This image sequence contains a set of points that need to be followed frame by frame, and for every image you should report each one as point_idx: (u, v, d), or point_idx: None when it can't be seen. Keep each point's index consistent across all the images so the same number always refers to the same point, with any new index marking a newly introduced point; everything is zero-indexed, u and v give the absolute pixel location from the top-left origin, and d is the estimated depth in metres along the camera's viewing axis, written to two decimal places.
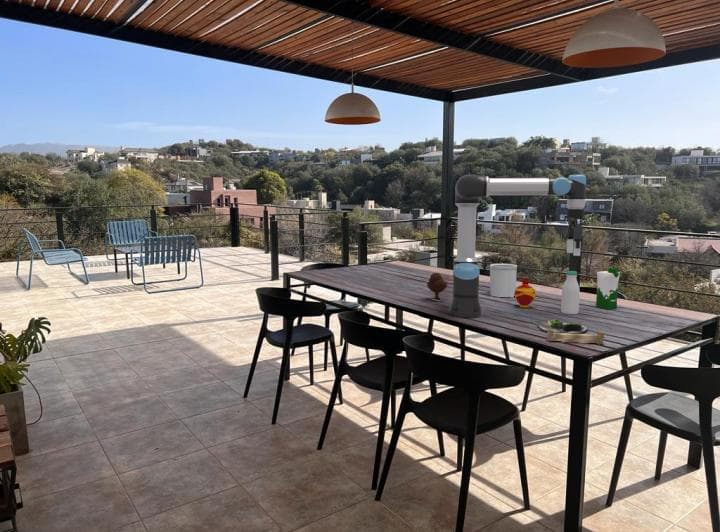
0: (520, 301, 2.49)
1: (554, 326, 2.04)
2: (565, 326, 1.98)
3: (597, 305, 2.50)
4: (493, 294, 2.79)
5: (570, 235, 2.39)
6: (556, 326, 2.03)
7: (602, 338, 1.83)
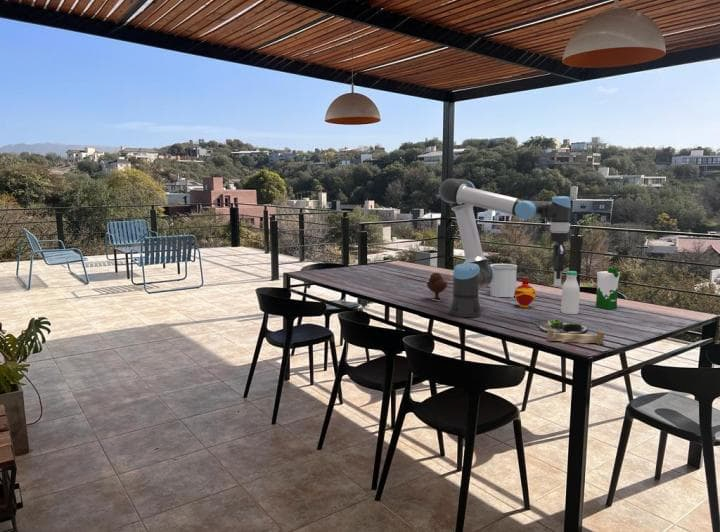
0: (520, 301, 2.49)
1: (554, 326, 2.04)
2: (565, 326, 1.98)
3: (597, 305, 2.50)
4: (493, 294, 2.79)
5: None
6: (556, 326, 2.03)
7: (602, 338, 1.83)
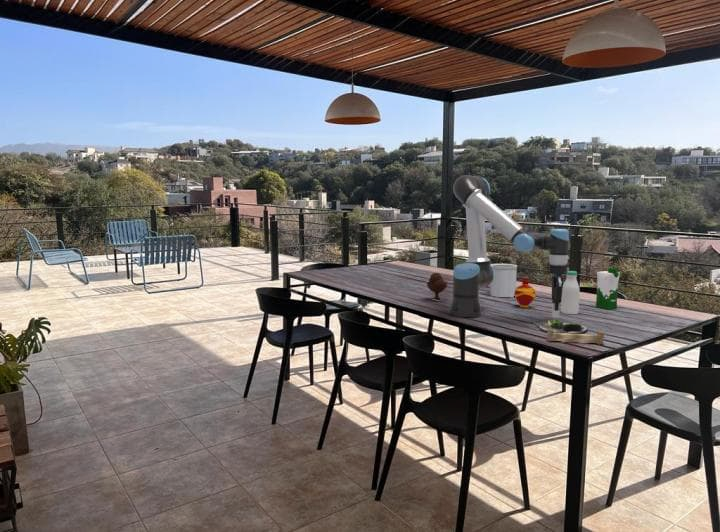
0: (520, 301, 2.49)
1: (554, 326, 2.04)
2: (565, 326, 1.98)
3: (597, 305, 2.50)
4: (493, 294, 2.79)
5: None
6: (556, 326, 2.03)
7: (602, 338, 1.83)
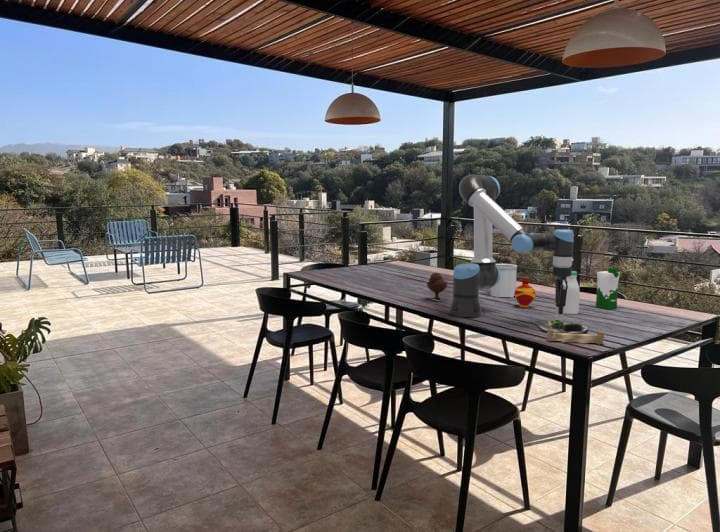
0: (520, 301, 2.49)
1: (555, 326, 2.03)
2: (566, 326, 1.97)
3: (597, 305, 2.50)
4: (493, 294, 2.79)
5: None
6: (557, 326, 2.03)
7: (602, 338, 1.83)
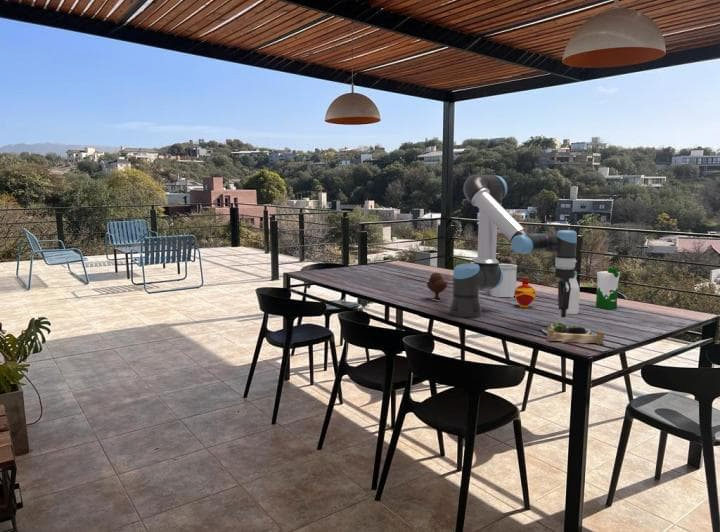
0: (520, 301, 2.49)
1: (557, 329, 1.97)
2: (569, 330, 1.92)
3: (597, 305, 2.50)
4: (493, 294, 2.79)
5: None
6: (559, 329, 1.97)
7: (602, 338, 1.83)
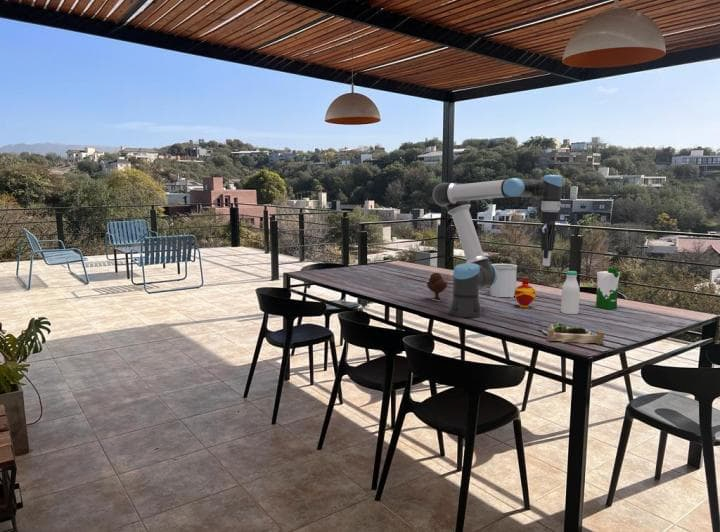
0: (520, 301, 2.49)
1: (558, 330, 1.97)
2: (569, 330, 1.91)
3: (597, 305, 2.50)
4: (493, 294, 2.79)
5: None
6: (560, 330, 1.97)
7: (602, 338, 1.83)
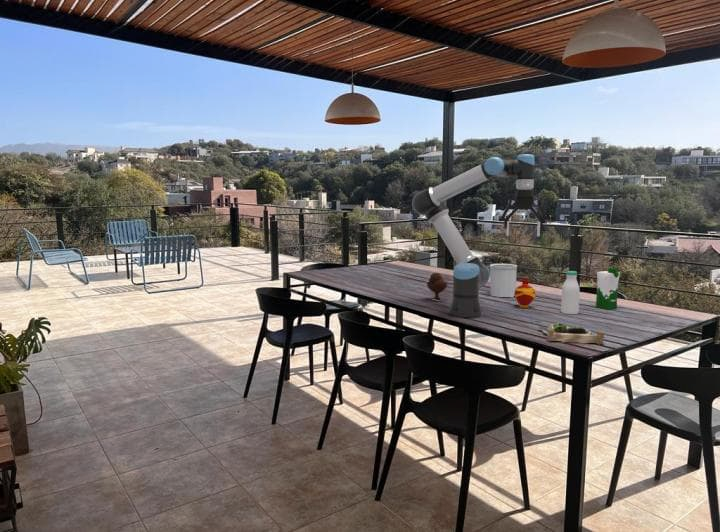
0: (520, 301, 2.49)
1: (558, 330, 1.97)
2: (569, 330, 1.91)
3: (597, 305, 2.50)
4: (493, 294, 2.79)
5: (536, 217, 2.28)
6: (560, 330, 1.97)
7: (602, 338, 1.83)
